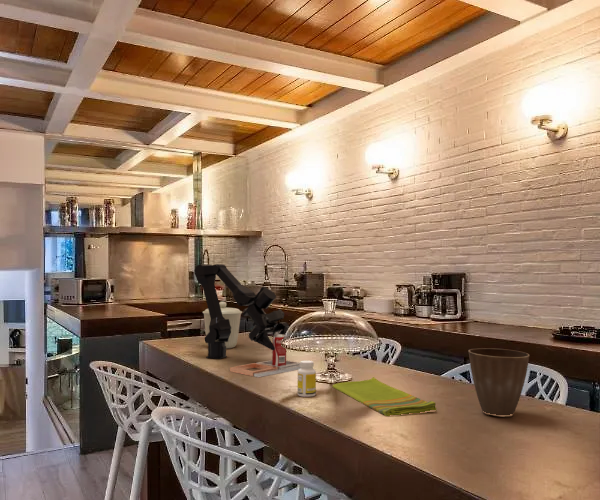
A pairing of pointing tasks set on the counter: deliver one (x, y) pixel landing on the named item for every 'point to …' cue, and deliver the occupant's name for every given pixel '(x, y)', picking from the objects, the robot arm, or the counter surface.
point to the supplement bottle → (306, 379)
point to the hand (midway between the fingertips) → (281, 348)
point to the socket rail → (265, 368)
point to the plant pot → (498, 378)
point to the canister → (234, 320)
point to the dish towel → (384, 397)
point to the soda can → (278, 351)
